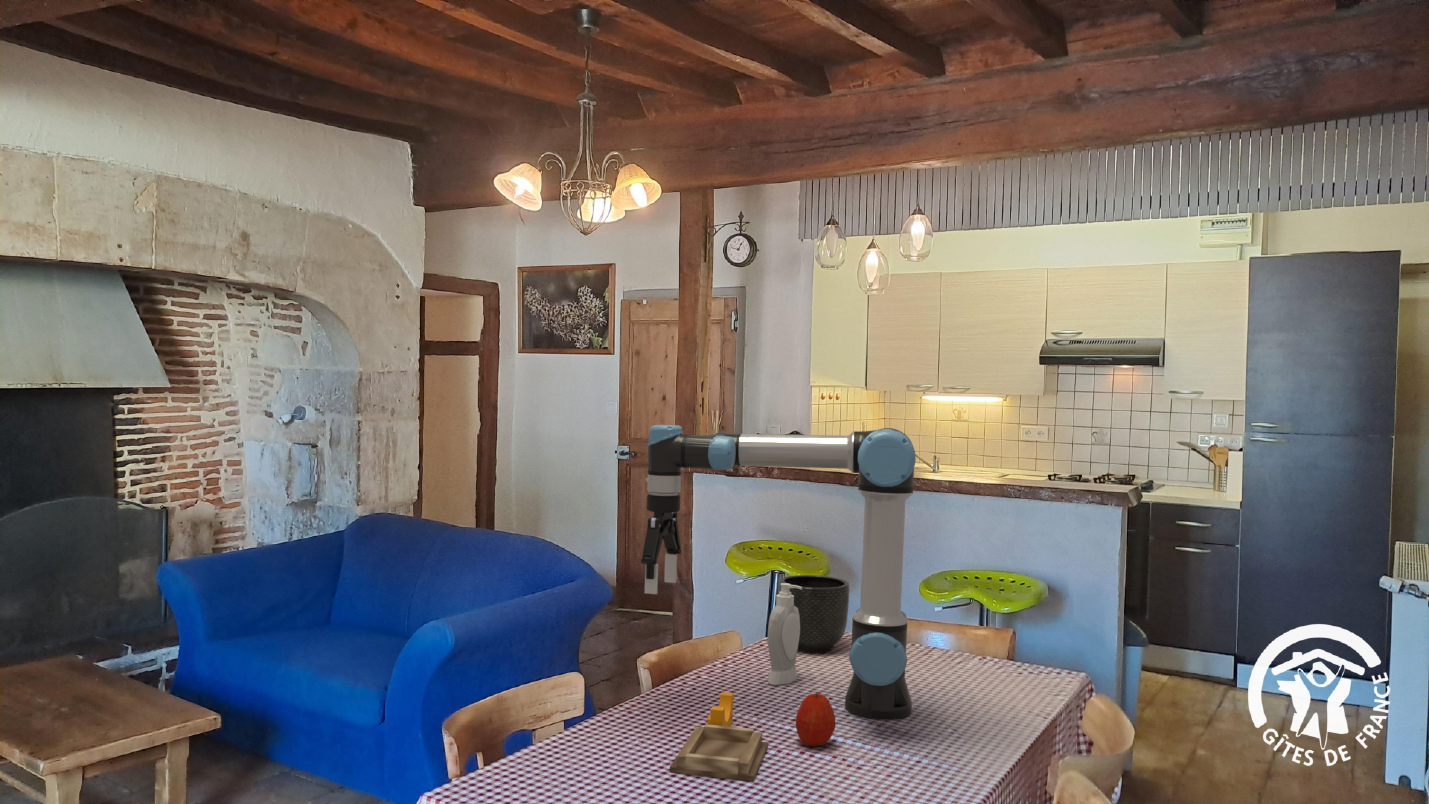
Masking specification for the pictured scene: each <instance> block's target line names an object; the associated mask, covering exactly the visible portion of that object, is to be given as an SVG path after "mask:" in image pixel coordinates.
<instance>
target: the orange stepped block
mask: <svg viewBox="0 0 1429 804" xmlns="http://www.w3.org/2000/svg"><path fill="white" fill-rule="evenodd" d="M733 713H734V692H724V691H722V692H721V693H720V694H719V704H718V706H717V705H716V706H712V707H711V708H710V711H709V715H708V717H707V719H706V720H707V721H706V724H708V725H718V726H728V727H732V724H733V721H734V720H733V719H734V718H733V717H734V716H733V715H734V714H733Z"/></svg>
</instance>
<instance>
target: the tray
mask: <svg viewBox="0 0 1429 804" xmlns="http://www.w3.org/2000/svg"><path fill="white" fill-rule="evenodd" d="M768 748H769V742H768V741H763V732H759V731H755V729H754V728H746V727H739V726H738V727H737V726H730V727H728V726H718V725H708V724H707V723H706V724H705V725H704V726H698V725H695V728H694V729H693V731H692V732H691V734H690V736H689V737H688V738H687V740H686V741H685V743H684V745H683V746H682V748H681V749H680V751H679V752H678V753H677V755H676V757H675V758H674V760H673V761H672V762H671V764H670V765H669V773H671V774H672V773H673V774H683V775H691V776H699V777H709V778H718V779H720V778H721V779H726V780H727V779H728V780H737V781H744V782H745V781H747V782H754V781H755V779H756V777H757V774H758V772H759V770H760V767H761V765H762V762H763V760H764V758H765V755H766V752H767V750H768Z"/></svg>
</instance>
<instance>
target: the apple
mask: <svg viewBox="0 0 1429 804" xmlns="http://www.w3.org/2000/svg"><path fill="white" fill-rule="evenodd" d="M835 728H836V715H835V712H834V708H833V707H832V704H831V703H830V701H829V699H828V698H827V697H826V695H824V694H820V693H818V692H817V691H816V693H810V694H807V696H805V697H804V699H803V700H802V702H801V704H800V706H799V708H798V710H797V712H796V717H795V729H796V733H797V736H798V738H799V740H800V742H801V743H802V744H803V745H805V746H808V747H816V746H822V745H825V744H827V743H829V741H830V740H831V738H832V735H833V734H834V732H835Z"/></svg>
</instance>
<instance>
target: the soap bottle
mask: <svg viewBox="0 0 1429 804" xmlns="http://www.w3.org/2000/svg"><path fill="white" fill-rule="evenodd" d="M790 588H798V589H803V587H800V586H797V585H791V584H788V583H781V591H780V592H778V594H776V595H775V597H776V599H775V600H776V601H775V603H776V604H775V606H774V608H773V609H772V610H771V612H770V614H769V619H768V628H767V648H768V653H769V654H768V655H769V659H770V660H769V661H770V667H771V668H770V670H769V674H768V679H767V683H768V685H771V686H782V685H783V686H784V685H789V684H791V683H793V682H795V681H796V680H797V679H798V673H797V667H796V662H797V661H796V660H797V655H798V644H799V637H800V615H799V611H798V608H797V607H795V606H794V596H793V595H791V592H789V590H790Z"/></svg>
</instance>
